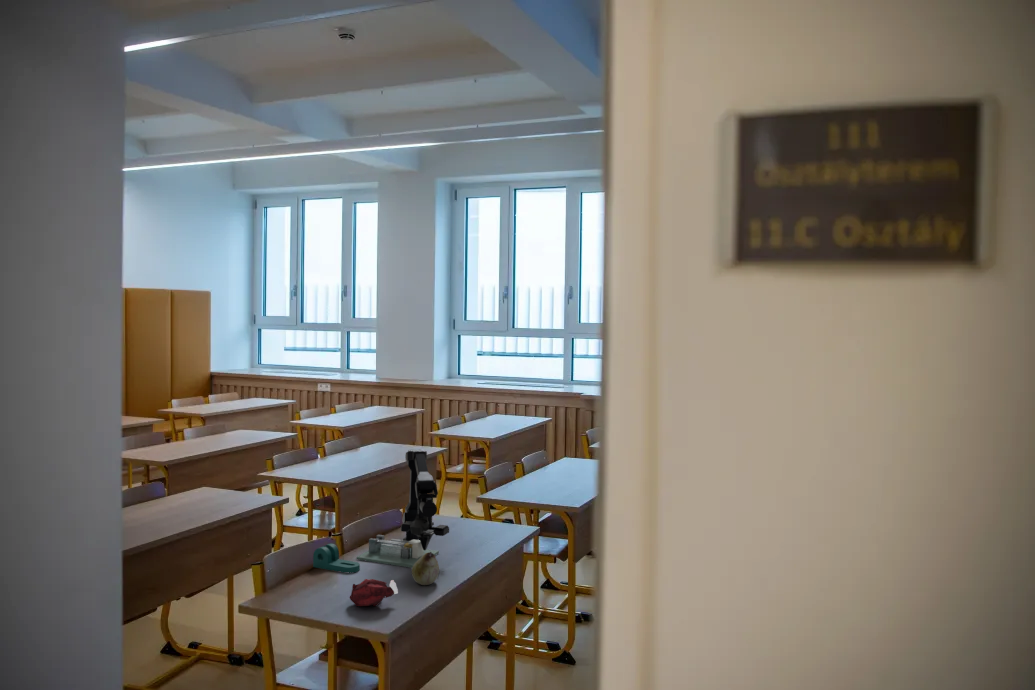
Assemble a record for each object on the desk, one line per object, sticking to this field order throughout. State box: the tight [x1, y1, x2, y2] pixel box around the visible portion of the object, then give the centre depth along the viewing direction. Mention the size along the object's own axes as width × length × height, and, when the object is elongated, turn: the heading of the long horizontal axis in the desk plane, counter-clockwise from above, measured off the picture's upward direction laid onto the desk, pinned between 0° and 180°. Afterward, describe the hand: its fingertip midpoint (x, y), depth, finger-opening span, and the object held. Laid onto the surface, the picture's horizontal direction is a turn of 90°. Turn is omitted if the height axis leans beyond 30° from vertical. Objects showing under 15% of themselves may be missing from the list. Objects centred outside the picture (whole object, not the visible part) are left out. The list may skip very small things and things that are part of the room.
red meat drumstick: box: [348, 578, 399, 607], centre depth 241 cm, size 15×13×9 cm
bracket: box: [312, 543, 361, 574], centre depth 278 cm, size 18×7×8 cm, turn 67°
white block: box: [408, 539, 424, 559], centre depth 290 cm, size 5×4×6 cm
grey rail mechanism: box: [368, 534, 412, 559], centre depth 293 cm, size 11×18×6 cm, turn 70°
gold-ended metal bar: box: [377, 538, 413, 548], centre depth 293 cm, size 4×18×2 cm, turn 70°
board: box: [355, 548, 440, 569], centre depth 293 cm, size 20×26×1 cm
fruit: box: [411, 552, 440, 586], centre depth 262 cm, size 10×9×12 cm
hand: (424, 550), depth 288 cm, fingers closed
